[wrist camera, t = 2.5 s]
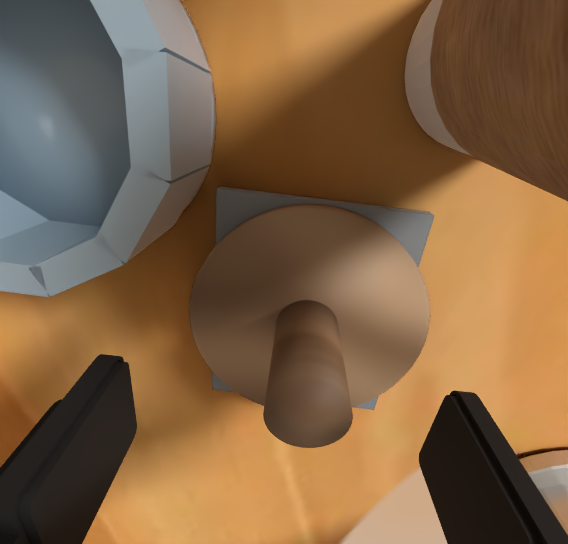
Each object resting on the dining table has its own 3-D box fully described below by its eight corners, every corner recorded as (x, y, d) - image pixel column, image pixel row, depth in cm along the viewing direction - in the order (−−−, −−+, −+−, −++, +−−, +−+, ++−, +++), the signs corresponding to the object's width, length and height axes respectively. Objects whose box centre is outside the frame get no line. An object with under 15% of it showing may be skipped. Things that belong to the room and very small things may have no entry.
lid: (390, 410, 18) (427, 535, 13) (196, 385, 18) (149, 499, 13) (455, 220, 13) (557, 287, 8) (195, 188, 14) (120, 233, 8)
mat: (372, 401, 19) (373, 409, 18) (215, 381, 19) (212, 389, 18) (429, 211, 14) (434, 215, 13) (219, 186, 14) (216, 188, 13)
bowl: (213, 256, 15) (175, 312, 11) (-29, 226, 15) (-168, 269, 11) (220, -76, 10) (156, -227, 6) (-135, -118, 11) (-464, -297, 6)
